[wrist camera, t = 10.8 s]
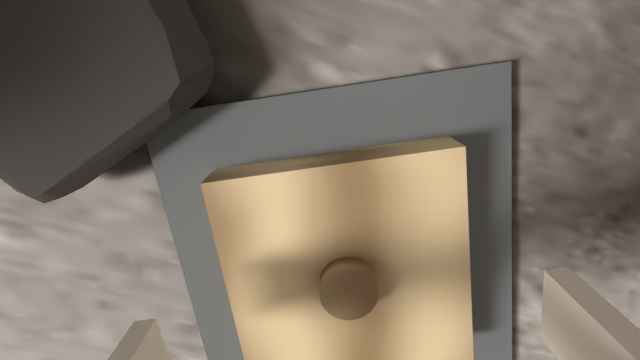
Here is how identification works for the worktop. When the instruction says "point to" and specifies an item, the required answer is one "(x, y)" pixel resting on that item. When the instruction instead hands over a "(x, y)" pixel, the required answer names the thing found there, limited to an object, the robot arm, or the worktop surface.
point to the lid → (348, 253)
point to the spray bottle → (91, 85)
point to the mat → (339, 135)
